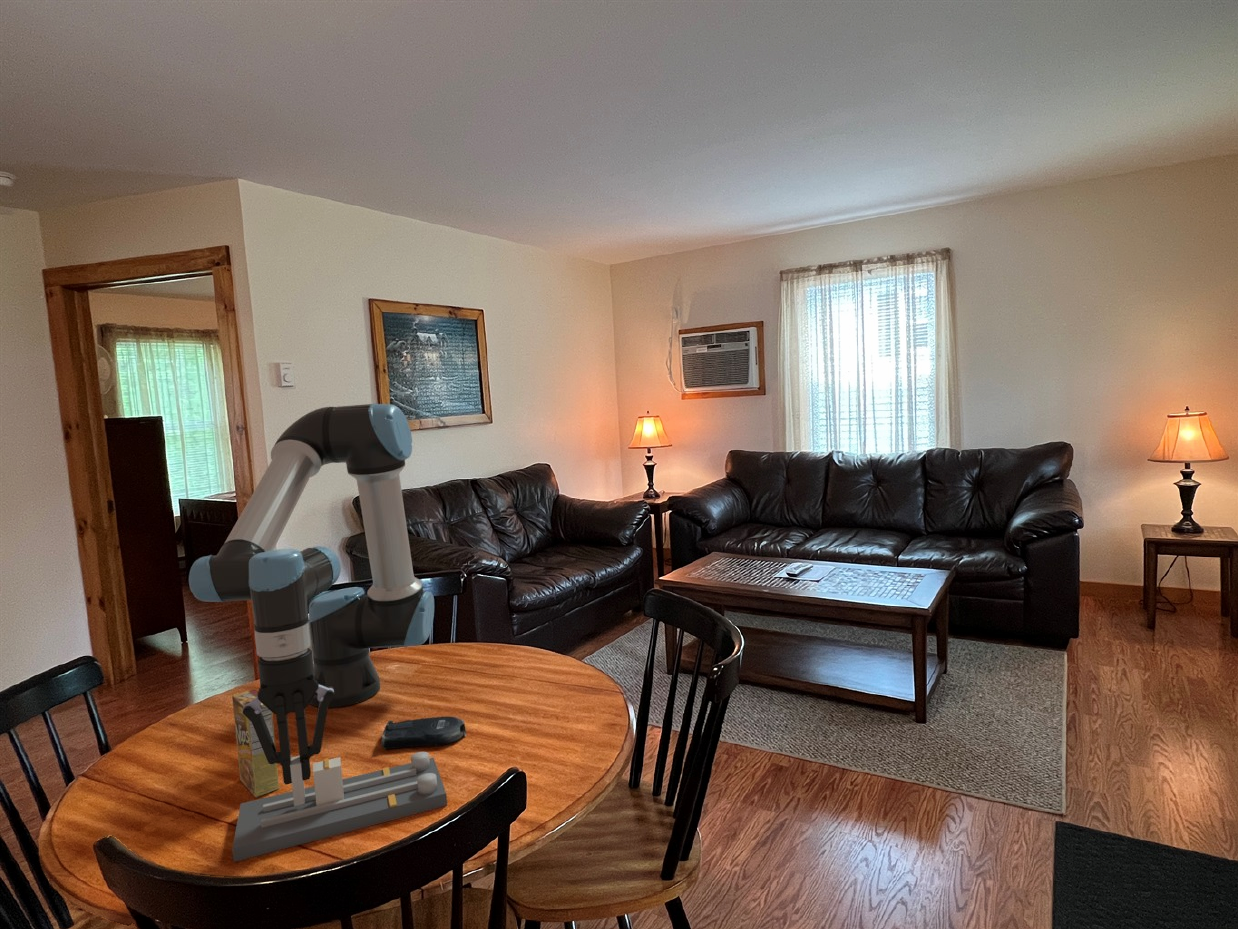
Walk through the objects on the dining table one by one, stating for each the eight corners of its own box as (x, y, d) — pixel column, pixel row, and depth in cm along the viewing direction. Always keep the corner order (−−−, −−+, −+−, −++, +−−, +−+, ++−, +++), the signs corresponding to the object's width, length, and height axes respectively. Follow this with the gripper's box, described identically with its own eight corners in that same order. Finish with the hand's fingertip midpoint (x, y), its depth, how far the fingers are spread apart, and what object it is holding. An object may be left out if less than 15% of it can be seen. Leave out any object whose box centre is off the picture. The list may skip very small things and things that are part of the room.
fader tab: (316, 799, 114) (312, 761, 113) (343, 793, 115) (340, 755, 115) (316, 809, 111) (312, 770, 110) (344, 802, 113) (340, 763, 112)
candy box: (239, 780, 126) (229, 695, 124) (264, 771, 128) (256, 687, 127) (255, 799, 119) (245, 709, 118) (281, 788, 122) (272, 701, 121)
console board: (242, 815, 114) (239, 791, 114) (434, 768, 126) (432, 746, 125) (233, 862, 102) (230, 835, 102) (447, 805, 114) (445, 781, 114)
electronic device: (383, 763, 132) (464, 743, 134) (377, 734, 132) (458, 713, 134) (393, 746, 141) (469, 727, 143) (387, 718, 142) (463, 700, 143)
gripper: (233, 668, 103) (250, 824, 106) (331, 652, 108) (345, 801, 110) (239, 653, 110) (255, 799, 113) (330, 638, 115) (343, 778, 117)
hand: (299, 800), depth 111 cm, fingers closed
